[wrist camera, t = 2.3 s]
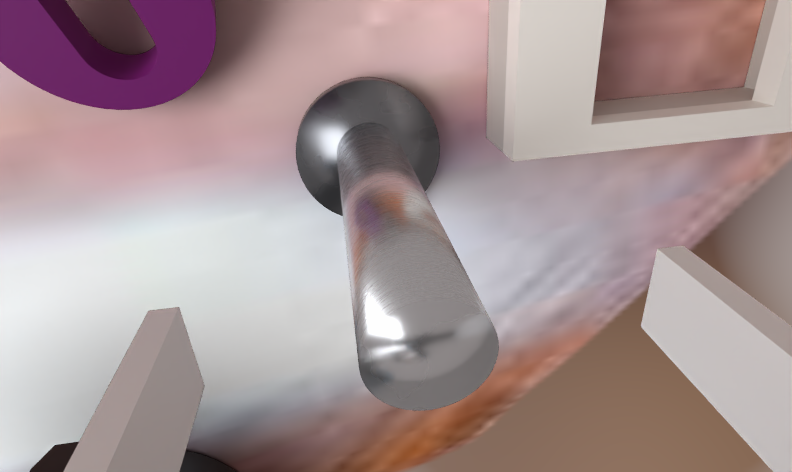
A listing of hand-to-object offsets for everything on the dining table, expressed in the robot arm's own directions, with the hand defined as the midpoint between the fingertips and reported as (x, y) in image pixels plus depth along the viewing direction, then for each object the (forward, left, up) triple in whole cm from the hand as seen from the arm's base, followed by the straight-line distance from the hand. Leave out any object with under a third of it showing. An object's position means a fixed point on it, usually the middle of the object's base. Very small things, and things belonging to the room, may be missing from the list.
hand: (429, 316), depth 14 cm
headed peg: (0, 0, -17) cm, 17 cm away
